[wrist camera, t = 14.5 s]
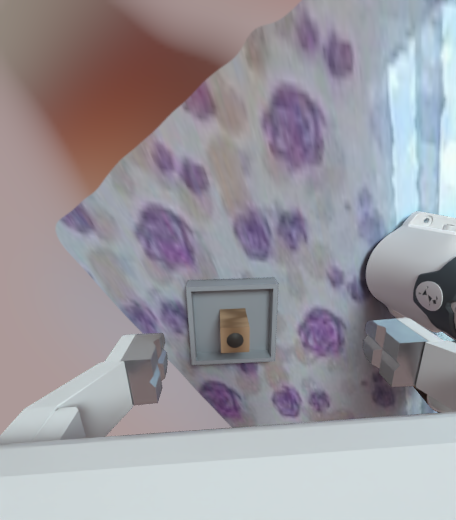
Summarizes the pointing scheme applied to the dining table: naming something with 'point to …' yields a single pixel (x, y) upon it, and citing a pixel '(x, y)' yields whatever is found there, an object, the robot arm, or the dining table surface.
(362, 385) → the dining table surface
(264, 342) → the tray
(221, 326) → the block
